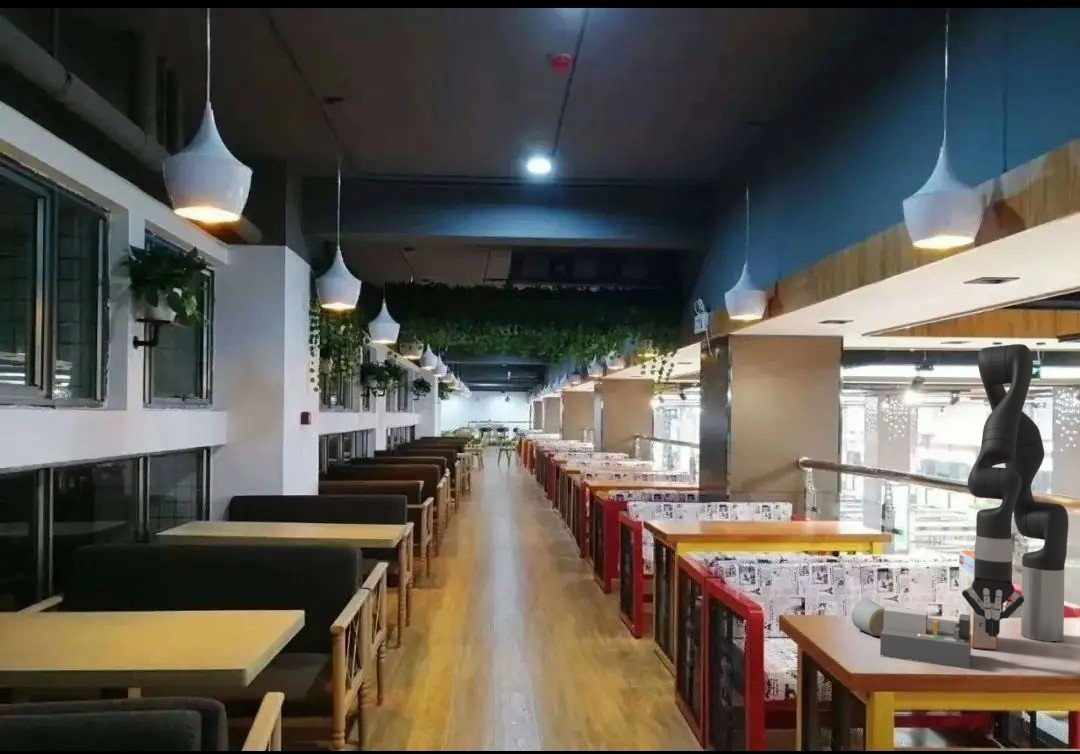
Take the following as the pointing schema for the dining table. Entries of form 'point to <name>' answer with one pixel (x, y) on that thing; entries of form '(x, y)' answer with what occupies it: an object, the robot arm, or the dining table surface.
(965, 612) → the cracker box
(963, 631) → the plunger
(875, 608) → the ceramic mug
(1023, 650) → the dining table surface
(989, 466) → the robot arm
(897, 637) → the gauge housing
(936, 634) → the orange rectangular prism
